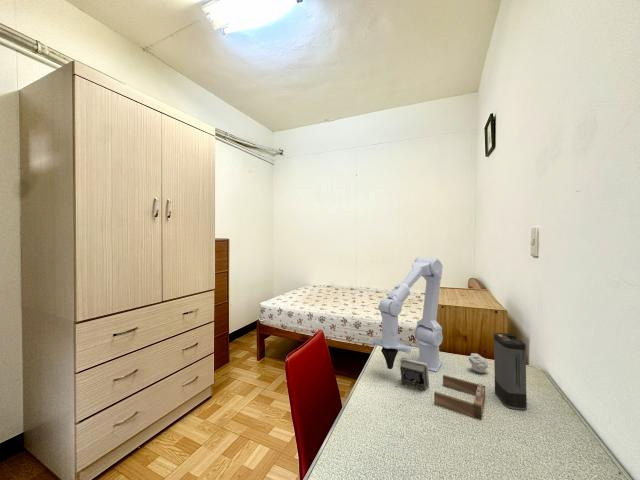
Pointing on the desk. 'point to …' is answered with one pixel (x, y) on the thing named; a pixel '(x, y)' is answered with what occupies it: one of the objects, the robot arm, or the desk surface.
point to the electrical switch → (414, 374)
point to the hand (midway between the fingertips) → (390, 367)
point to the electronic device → (510, 370)
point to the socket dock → (458, 404)
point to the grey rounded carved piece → (478, 363)
